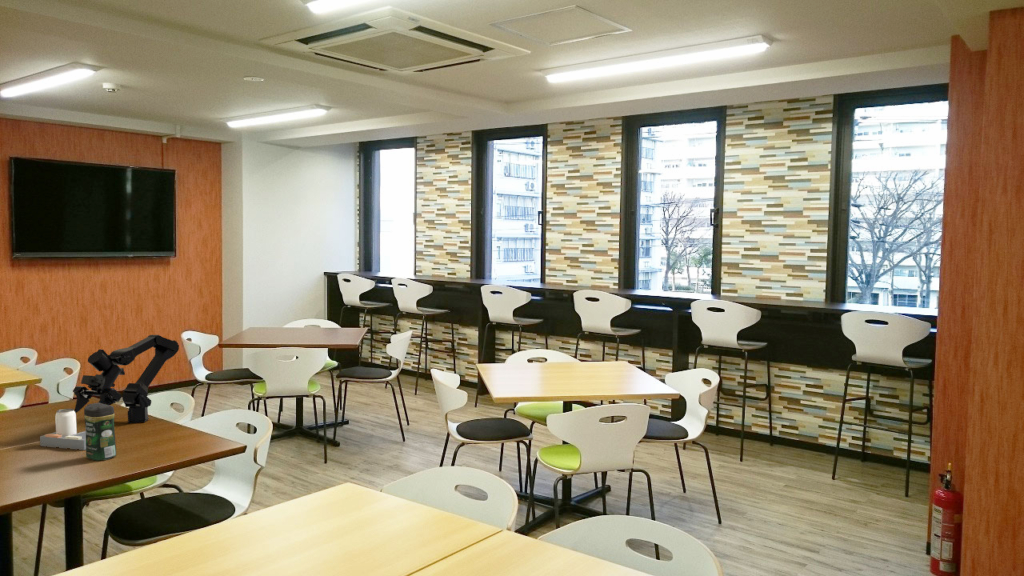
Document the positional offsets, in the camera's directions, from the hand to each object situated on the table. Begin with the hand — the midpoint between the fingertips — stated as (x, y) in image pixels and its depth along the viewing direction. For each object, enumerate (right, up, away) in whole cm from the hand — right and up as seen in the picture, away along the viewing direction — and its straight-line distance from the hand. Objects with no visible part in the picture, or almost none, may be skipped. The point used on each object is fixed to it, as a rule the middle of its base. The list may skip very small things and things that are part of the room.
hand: (84, 412), depth 279 cm
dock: (+2, -10, -9) cm, 14 cm away
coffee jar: (+21, -11, -27) cm, 36 cm away
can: (-2, -10, -7) cm, 12 cm away
